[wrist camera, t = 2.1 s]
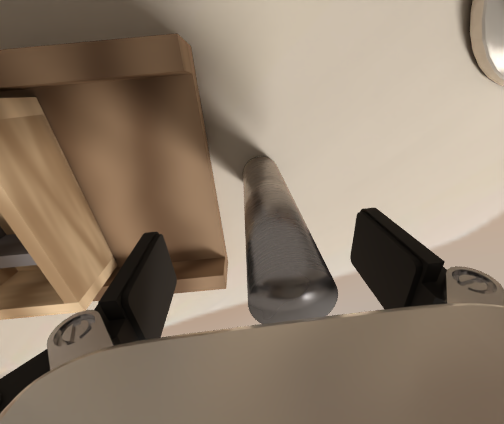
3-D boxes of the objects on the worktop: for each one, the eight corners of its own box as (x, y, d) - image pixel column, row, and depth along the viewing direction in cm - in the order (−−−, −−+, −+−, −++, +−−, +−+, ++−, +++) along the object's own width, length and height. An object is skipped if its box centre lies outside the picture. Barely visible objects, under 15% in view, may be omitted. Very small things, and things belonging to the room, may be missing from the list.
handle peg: (277, 154, 18) (342, 262, 7) (279, 188, 20) (333, 325, 8) (241, 158, 18) (243, 272, 7) (244, 192, 20) (252, 333, 8)
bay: (190, 46, 14) (173, 30, 11) (228, 261, 23) (225, 293, 19) (-133, 75, 14) (-261, 70, 11) (26, 280, 23) (-15, 316, 19)
